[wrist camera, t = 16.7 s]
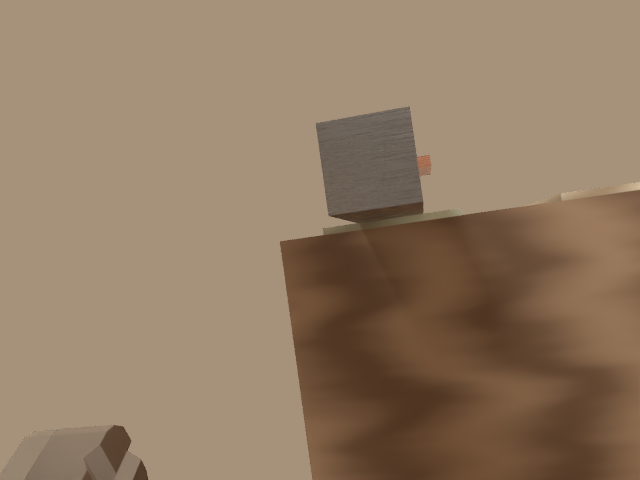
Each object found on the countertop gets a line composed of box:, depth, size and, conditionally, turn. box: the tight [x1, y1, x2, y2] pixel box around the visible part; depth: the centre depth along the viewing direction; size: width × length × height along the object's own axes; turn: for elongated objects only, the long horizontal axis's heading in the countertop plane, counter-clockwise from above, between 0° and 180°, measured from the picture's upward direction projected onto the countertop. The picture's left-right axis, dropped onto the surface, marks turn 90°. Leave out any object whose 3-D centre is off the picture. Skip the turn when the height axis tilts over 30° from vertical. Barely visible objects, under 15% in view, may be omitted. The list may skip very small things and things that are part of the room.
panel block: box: [280, 182, 640, 480], centre depth 29 cm, size 20×11×26 cm, turn 80°
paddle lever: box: [316, 107, 431, 223], centre depth 27 cm, size 4×20×3 cm, turn 170°
